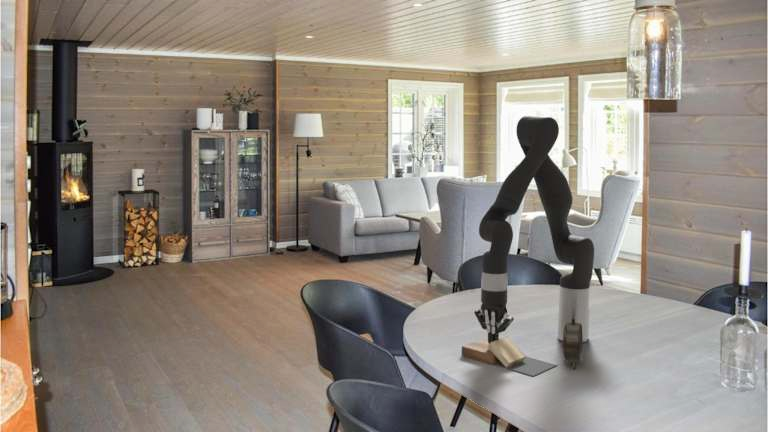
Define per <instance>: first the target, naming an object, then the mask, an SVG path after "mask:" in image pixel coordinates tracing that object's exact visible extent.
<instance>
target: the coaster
mask: <svg viewBox="0 0 768 432" xmlns="http://www.w3.org/2000/svg"><path fill="white" fill-rule="evenodd" d="M488 348H489V349H490V350H491V351H492V353H493V354H494V355H495V356H496V357H497V358H498V359H499V360H500V361H501V362H502V364H503V365H504V366H505V367H506V368H507V367H509V366H512V365H514V364H517V363H519V362H522V361H523V360H524V359H525V357H527V355H525V353H524V352H523V351H522V350H521V349H520V348H519V347H518V346H517V345H516V344H515V343H514V342H513V340H512V339H511V338H510V337H509V336H505V337H502V338H499V340H496V341H493V342H491V343H490V344H489V346H488ZM506 368H505V369H506Z"/></svg>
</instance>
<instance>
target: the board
mask: <svg viewBox="0 0 768 432" xmlns="http://www.w3.org/2000/svg"><path fill="white" fill-rule="evenodd" d="M488 346H489V343H488V339H485V338H481V339H478V340H475V341H473V342H469V343H466V344H463V345H461V356H462V357H463V358H467V359H470V360H473V361H476V362H477V361H478V362H480V363H484V364H487V365H490V366H495V365H494V364H496V363H498V362H501V361H500V360H499V359H498V358H497V357H496V356H495V355H494V354H493V353H492V351H491V350H490V349H489V348H488Z"/></svg>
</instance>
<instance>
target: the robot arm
mask: <svg viewBox="0 0 768 432" xmlns="http://www.w3.org/2000/svg"><path fill="white" fill-rule="evenodd" d="M559 132H560V127H559V124H558V122H557V120H556V119H555V118H553V117H552V116H547V115H546V116H545V115H533V114H532V115H531V114H530V115H529V114H527V115H524V116H522V117H521V118H519V120H518V122H517V124H516V138H517V141H518V143H519V145H520V147H521V151H523V155H524V157H523V158H522V160H521V162H520V163H518V164H517V166H516V167H515V168H514V169H512V171H511V172H510V173H509V174H508V175H507V176H506V178H505V179H504V181H503V183H502V185H501V187H500V189H499V192H498V194H497V195H496V198H495V201H494V202H493V204H492V205H491V206H490V207H489V209H488V210H487V212H485V214H484V215H483V217H482V218H481V220H480V222H479V225H478V226H479V227H478V234H479V237H480V238H481V239H482V240H483V241H485V242H487V243H490V248H489V250H488V251H485V252H484V253H483V255H482V271H481V281H480V282H481V284H480V285H481V286H480V289H481V290H480V302H481V305H480V308H479V309H478V310H477V309H476V310H474V315H475V317H476V319H477V321H478V323H479V324H480V327H481V328H482V330H486V332H487V340H488V343H489V344H490V343H491V342H493V341H496V340H499V339H500V337H499V336H500V333H503V332H505V331H507V328H509V326H510V325H511V324H512V323H513V322H514V320H515V319H514V317H513V316H510V315H509V314H508V309H507V305H508V304H507V303H508V282H509V281H508V257H509V254H510V251H511V245H512V243H513V237H514V232H513V230H514V229H513V228H512V225H511V223H509V221H507V219H508V217H509V216H510V217H511V216H513V215H515V214H517V212H518V211H519V209H520V206H521V204H522V202H523V200H524V197H525V194H527V191H528V188H529V186H530V184H531V183H532V181H533V180H534V183H535V185H536V188H537V193H538V196H539V199H540V202H541V205H542V207H543V210H544V213H545V217H546V221H547V223H548V226H549V232H550V236H551V241H552V245H553V250H554V253H555V256H556V258H557V260H558V261H559V262H561V263H563V264H567V265H572V266H573V268H572V272H571V273H568V274H564V275H561V276H560V277H559V289H558V290H559V292H558V319H557V321H558V322H557V339H558V340H560V341H562V342H563V333H564V327H565V325H566V324H567V323H572V318H573V309H574V319H575V323H581V325H582V340H583V343H585V342H587V341H588V339H589V331H590V330H589V328H590V289H591V288H590V286H591V280H592V277H593V270H594V260H595V246H594V243H593V240H592V239H590V238H589V237H586V236H580V235H573V234H571V232H570V229H569V225H568V216H569V214H570V211H571V209H572V207H573V206H572V205H573V201H574V200H573V194H572V191H571V187H570V185H569V182H568V179H567V177H566V176H565V174H564V173H563V171H562V170H561V169H560V168H559V166H557V164H556V163H555V162H554V161H553V160H552V158H551V157H550V155H549V153H550V152H551V150H552V148H553V147H554V146H555V144H556V141H558V136H559Z"/></svg>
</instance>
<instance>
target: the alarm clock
mask: <svg viewBox="0 0 768 432" xmlns="http://www.w3.org/2000/svg"><path fill="white" fill-rule="evenodd" d="M583 344H584V342H583V340H582V325H581V323H575V319H574V309H573V318H572V323H567V324H566V325H565V327H564V333H563V341H562V344H561V347H562V350H563V358H564V361H563V363H565V362H568V363H569V362H570V363H572V366H573V368H572V370H576V363H582V361H583V350H584V349H583Z"/></svg>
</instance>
